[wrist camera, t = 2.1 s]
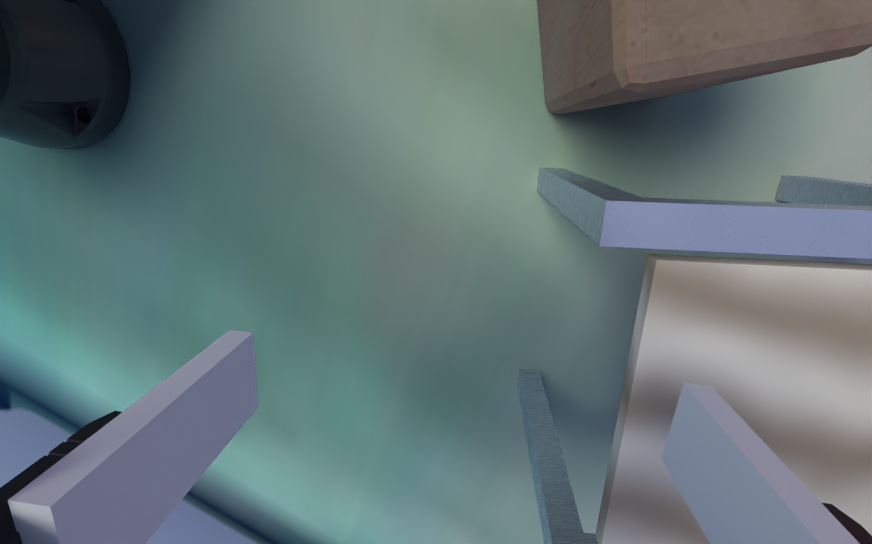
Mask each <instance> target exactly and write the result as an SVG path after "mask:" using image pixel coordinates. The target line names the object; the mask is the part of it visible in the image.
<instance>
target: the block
mask: <svg viewBox="0 0 872 544" xmlns="http://www.w3.org/2000/svg"><path fill="white" fill-rule="evenodd" d="M537 5H538V18H539V30H540V43H541V55H542V68H543V80H544V93H545V104H546V106H547V108H548V110H549V112H551V113H555V114H564V113H570V112H576V111H582V110H588V109H593V108H599V107H605V106H611V105H617V104H623V103H629V102H634V101H640V100H646V99H652V98H658V97H663V96H668V95H673V94H677V93H682V92H687V91H691V90H696V89H701V88H705V87H710V86H715V85H719V84H724V83H729V82H733V81H738V80H743V79H747V78H752V77H757V76H761V75H766V74H771V73H775V72H780V71H785V70H789V69H794V68H799V67H803V66H808V65H813V64H817V63H822V62H827V61H831V60H836V59H841V58H845V57H850V56H855V55H857V54H858V53H860V52H862V51H864V50H866V49H867V48H869V47H871V46H872V0H537Z"/></svg>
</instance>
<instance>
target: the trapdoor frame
mask: <svg viewBox="0 0 872 544" xmlns="http://www.w3.org/2000/svg"><path fill="white" fill-rule="evenodd" d="M537 191H538V192H539V193H540V194H541V195H542V196H543V197H545V198H546V199H547V200H548V201H549V202H550V203H551V204H553V205H554V206H555V207H556V208H557V209H558V210H559V211H560V212H562V213H563V214H564V215H565V216H566V217H567V218H568V219H569V220H571V221H572V222H573V223H574V224H575V225H576V226H577V227H578V228H580V229H581V230H582V231H583V232H584V233H585V234H586V235H588V236H589V237H590V238H591V239H592V240H593V241H594V242H595V243H597V244H598V245H599V246H604V247H625V248H647V249H668V250H690V251H712V252H733V253H755V254H776V255H798V256H820V257H841V258H863V259H872V184H866V183H857V182H849V181H841V180H832V179H824V178H816V177H808V176H782V177H781V181H780V185H779V188H778V192H777V196H776V199H775V200H779V201H784V202H789V203H773V202H746V201H719V200H693V199H666V198H642V197H639V196H636V195H634V194H631V193H628V192H625V191H623V190H620V189H617V188H615V187H612V186H609V185H606V184H604V183H601V182H598V181H595V180H593V179H590V178H587V177H585V176H582V175H579V174H576V173H574V172H571V171H568V170H565V169H563V168H539V177H538V187H537ZM518 390H519V396H520V402H521V408H522V414H523V420H524V426H525V432H526V438H527V444H528V450H529V456H530V462H531V468H532V473H533V479H534V485H535V491H536V497H537V503H538V509H539V515H540V521H541V527H542V533H543V539H544V544H598V542H597V538H596V534H590V533H583V529H582V526H581V522H580V518H579V514H578V511H577V507H576V503H575V500H574V496H573V492H572V489H571V485H570V481H569V478H568V474H567V470H566V467H565V463H564V459H563V456H562V452H561V448H560V445H559V441H558V437H557V433H556V430H555V426H554V422H553V419H552V415H551V411H550V408H549V404H548V400H547V397H546V393H545V389H544V386H543V382H542V378H541V375H540V371H535V370H519V380H518Z"/></svg>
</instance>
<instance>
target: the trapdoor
mask: <svg viewBox="0 0 872 544" xmlns="http://www.w3.org/2000/svg"><path fill="white" fill-rule="evenodd" d="M684 382H685V383H693V384H702V385H711V386H712V387H713V388H714V389H715V390H716V392H717V393H718V394H719V395H720V396H721V397H722V398H723V399H724V400H725V401H726V402H727V403H728V404H729V405H730V406H731V407H732V409H733V410H734V411H735V412H736V413H737V414H738V415H739V416H740V417H741V418H742V419H743V420H744V421H745V422H746V423H747V424H748V426H749V427H750V428H751V429H752V430H753V431H754V432H755V433H756V434H757V435H758V436H759V437H760V438H761V439H762V440H763V441H764V443H765V444H766V445H767V446H768V447H769V448H770V449H771V450H772V451H773V452H774V453H775V454H776V455H777V456H778V457H779V458H780V459H781V461H782V462H783V463H784V464H785V465H786V466H787V467H788V468H789V469H790V470H791V471H792V472H793V473H794V474H795V475H796V476H797V478H798V479H799V480H800V481H801V482H802V483H803V484H804V485H805V486H806V487H807V488H808V489H809V490H810V491H811V492H812V493H813V495H814V496H815V497H816V498H817V499H818V500H819V501H820V502H821V503H828V504H832V505H834V506H835V507H836V508H838V509H839V510H841V511H842V512H843V513H845V514H846V515H848V516H849V517H850V518H852V519H853V520H855V521H856V522H857V523H859V524H860V525H861V526H863V528H864V529H865V530H866V531H867V532H868V533H869V534H870V535H871V536H872V265H868V264H847V263H826V262H805V261H783V260H762V259H741V258H720V257H699V256H678V255H656V254H648V256H647V261H646V266H645V272H644V277H643V282H642V288H641V293H640V299H639V304H638V309H637V315H636V320H635V325H634V331H633V336H632V341H631V347H630V352H629V358H628V363H627V368H626V374H625V379H624V384H623V390H622V395H621V400H620V406H619V411H618V417H617V422H616V427H615V433H614V438H613V443H612V449H611V454H610V459H609V465H608V470H607V476H606V481H605V486H604V492H603V497H602V502H601V508H600V513H599V518H598V524H597V529H596V538H597V542H598V544H710V543H709V541H708V540H707V538H706V536H705V534H704V533H703V531H702V529H701V527H700V526H699V524H698V522H697V520H696V519H695V517H694V515H693V513H692V512H691V510H690V508H689V506H688V505H687V503H686V501H685V499H684V498H683V496H682V494H681V492H680V491H679V489H678V487H677V485H676V484H675V482H674V480H673V478H672V477H671V475H670V473H669V471H668V470H667V468H666V466H665V464H664V463H663V461H662V459H661V458H662V455H663V451H664V448H665V444H666V441H667V438H668V434H669V431H670V427H671V424H672V421H673V417H674V414H675V410H676V407H677V404H678V400H679V397H680V394H681V390H682V387H683V383H684Z"/></svg>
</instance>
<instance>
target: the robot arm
mask: <svg viewBox="0 0 872 544" xmlns="http://www.w3.org/2000/svg"><path fill="white" fill-rule="evenodd" d="M128 90H129V69H128V61H127V56H126V52H125V48H124V45H123V42H122V39H121V37H120V34H119V32H118V30H117V27H116V25H115V23H114V22H113V20H112V18H111V16H110V15H109V13H108V11H107V10H106V9H105V7H104V6H103V4H102V3H101V2H100V1H99V0H0V137H4V138H7V139H10V140H14V141H17V142H21V143H24V144H27V145H31V146H37V147H44V148H74V147H82V146H86V145H89V144H92V143H94V142H96V141H98V140H100V139H102V138H103V137H104V136H106V135H107V134H108V133H109V132H110V131H111V130H112V129H113V128H114V127H115V125H116V124H117V122H118V121H119V119H120V117H121V115H122V113H123V111H124V108H125V105H126V101H127V97H128ZM257 407H258V404H257V388H256V372H255V356H254V339H253V332H244V331H235V330H229V331H228V332H226V333H225V334H224V335H222V336H221V337H220V338H218V339H217V340H216V341H215V342H213V343H212V344H211V345H209V346H208V347H207V348H205V349H204V350H203V351H201V352H200V353H199V354H198V355H196V356H195V357H194V358H192V359H191V360H190V361H188V362H187V363H186V364H185V365H183V366H182V367H181V368H179V369H178V370H177V371H175V372H174V373H173V374H172V375H170V376H169V377H168V378H166V379H165V380H164V381H162V382H161V383H160V384H158V385H157V386H156V387H155V388H153V389H152V390H151V391H149V392H148V393H147V394H145V395H144V396H143V397H142V398H140V399H139V400H138V401H136V402H135V403H134V404H132V405H131V406H130V407H129V408H127V409H126V410H125V411H123V412H118V411H114V412H112V413H110V414H108V415H105V416H103V417H101V418H99V419H97V420H95V421H93V422H91V423H89V424H87V425H86V426H84V427H83V428H82V429H80V430H79V431H78V432H76V433H75V434H74V435H72V436H71V437H69V438H68V439H67V442H63V443H61V444H60V445H58V446H57V447H56V448H54V449H53V450H52V451H50V452H49V455H48V456H44V457H42V458H41V459H39V460H38V461H37V462H35V463H34V464H32V465H31V466H30V467H28V468H27V469H26V470H24V471H23V472H21V473H20V474H19V475H17V476H16V477H15V478H13V479H12V480H10V482H8V483H6V484H5V485H4V486H2V487H1V488H0V544H145V543H146V542H147V541H148V540H149V538H150V537H151V536H152V535H153V534H154V532H155V531H156V530H157V529H158V527H159V526H160V525H161V524H162V523H163V521H164V520H165V519H166V518H167V517H168V515H169V514H170V513H171V512H172V511H173V509H174V508H175V507H176V506H177V505H178V503H179V502H180V501H181V500H182V498H183V497H184V496H185V495H186V494H187V492H188V491H189V490H190V489H191V488H192V486H193V485H194V484H195V483H196V481H197V480H198V479H199V478H200V477H201V475H202V474H203V473H204V472H205V471H206V469H207V468H208V467H209V466H210V464H211V463H212V462H213V461H214V460H215V458H216V457H217V456H218V455H219V454H220V452H221V451H222V450H223V449H224V447H225V446H226V445H227V444H228V443H229V441H230V440H231V439H232V438H233V437H234V435H235V434H236V433H237V432H238V430H239V429H240V428H241V427H242V426H243V424H244V423H245V422H246V421H247V420H248V418H249V417H250V416H251V415H252V413H253V412H254V411H255V410H256V409H257ZM661 459H662V461H663V463H664V464H665V466H666V468H667V470H668V471H669V473H670V475H671V477H672V478H673V480H674V482H675V484H676V485H677V487H678V489H679V491H680V492H681V494H682V496H683V498H684V499H685V501H686V503H687V505H688V506H689V508H690V510H691V512H692V513H693V515H694V517H695V519H696V520H697V522H698V524H699V526H700V527H701V529H702V531H703V533H704V534H705V536H706V538H707V540H708V541H709V543H710V544H872V536H871V535H870V534H869V533H868V532H867V531H866V530H865V529H864V528H863V526H861V525H860V524H859V523H857V522H856V521H855V520H853V519H852V518H850V517H849V516H848V515H846V514H845V513H843V512H842V511H841V510H839V509H838V508H836V507H835V506H834V505H832V504H828V503H821V502H820V501H819V500H818V499H817V498H816V497H815V496H814V495H813V493H812V492H811V491H810V490H809V489H808V488H807V487H806V486H805V485H804V484H803V483H802V482H801V481H800V480H799V479H798V478H797V476H796V475H795V474H794V473H793V472H792V471H791V470H790V469H789V468H788V467H787V466H786V465H785V464H784V463H783V462H782V461H781V459H780V458H779V457H778V456H777V455H776V454H775V453H774V452H773V451H772V450H771V449H770V448H769V447H768V446H767V445H766V444H765V443H764V441H763V440H762V439H761V438H760V437H759V436H758V435H757V434H756V433H755V432H754V431H753V430H752V429H751V428H750V427H749V426H748V424H747V423H746V422H745V421H744V420H743V419H742V418H741V417H740V416H739V415H738V414H737V413H736V412H735V411H734V410H733V409H732V407H731V406H730V405H729V404H728V403H727V402H726V401H725V400H724V399H723V398H722V397H721V396H720V395H719V394H718V393H717V392H716V390H715V389H714V388H713V387H712V386H711V385H702V384H693V383H685V382H684V383H683V387H682V390H681V394H680V397H679V400H678V404H677V407H676V410H675V414H674V417H673V421H672V424H671V427H670V431H669V434H668V438H667V441H666V444H665V448H664V451H663V455H662V458H661Z"/></svg>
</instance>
